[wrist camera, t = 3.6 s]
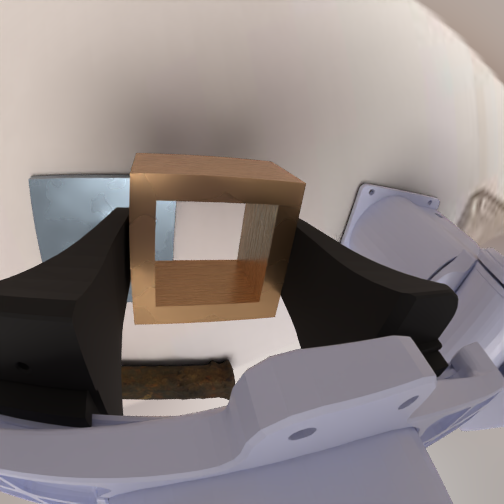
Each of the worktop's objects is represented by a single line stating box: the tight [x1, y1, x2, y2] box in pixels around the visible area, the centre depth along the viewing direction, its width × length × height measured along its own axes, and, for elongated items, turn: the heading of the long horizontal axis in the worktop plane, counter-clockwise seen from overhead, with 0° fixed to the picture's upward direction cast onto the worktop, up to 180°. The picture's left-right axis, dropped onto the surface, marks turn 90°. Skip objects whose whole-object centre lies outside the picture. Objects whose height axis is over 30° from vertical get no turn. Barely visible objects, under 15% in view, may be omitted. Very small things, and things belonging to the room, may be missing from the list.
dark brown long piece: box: [121, 360, 235, 400], centre depth 26 cm, size 19×4×5 cm, turn 76°
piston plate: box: [29, 175, 176, 302], centre depth 18 cm, size 10×10×4 cm
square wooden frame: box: [129, 153, 306, 324], centre depth 11 cm, size 5×5×3 cm
